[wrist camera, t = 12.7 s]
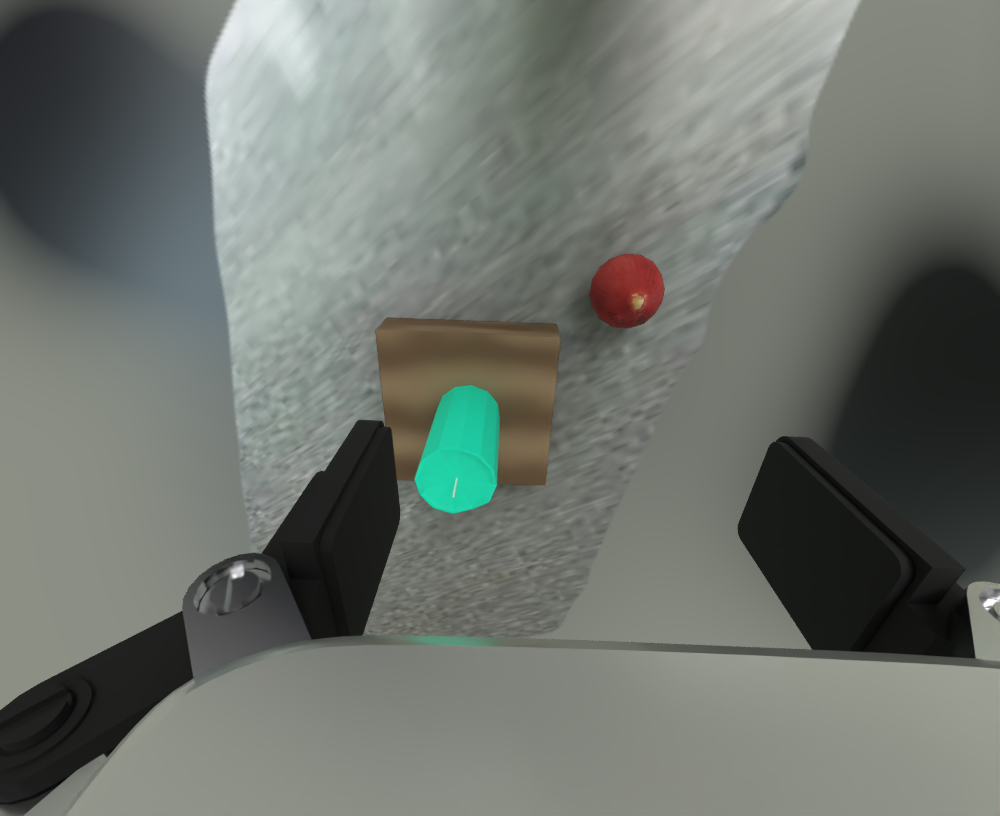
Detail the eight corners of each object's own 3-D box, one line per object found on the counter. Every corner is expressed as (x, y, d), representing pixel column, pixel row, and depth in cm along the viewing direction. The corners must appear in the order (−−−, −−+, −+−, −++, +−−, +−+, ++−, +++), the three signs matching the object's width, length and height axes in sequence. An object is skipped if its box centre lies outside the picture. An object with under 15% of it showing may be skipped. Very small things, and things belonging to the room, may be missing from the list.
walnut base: (387, 317, 40) (375, 330, 36) (556, 324, 40) (560, 337, 36) (400, 457, 47) (391, 479, 44) (542, 462, 47) (545, 485, 44)
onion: (653, 303, 39) (685, 329, 32) (591, 322, 40) (609, 352, 32) (642, 238, 36) (675, 252, 29) (576, 261, 37) (592, 279, 30)
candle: (434, 436, 41) (408, 523, 30) (439, 380, 38) (412, 455, 28) (495, 444, 41) (490, 533, 31) (504, 389, 39) (502, 467, 28)
